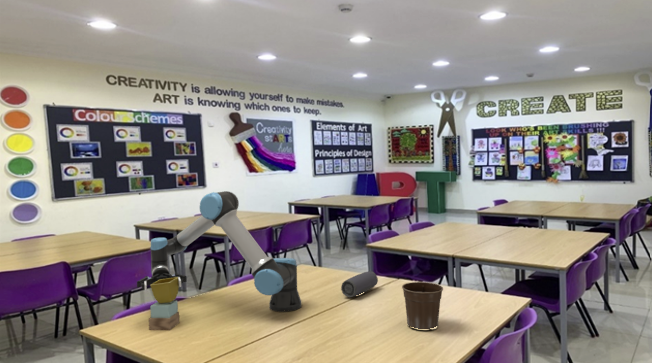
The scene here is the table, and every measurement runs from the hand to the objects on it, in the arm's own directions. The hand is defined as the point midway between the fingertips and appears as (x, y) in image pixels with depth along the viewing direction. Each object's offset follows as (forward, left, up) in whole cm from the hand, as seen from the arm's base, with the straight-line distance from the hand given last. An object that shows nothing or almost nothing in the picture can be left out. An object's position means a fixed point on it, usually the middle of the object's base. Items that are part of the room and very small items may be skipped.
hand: (163, 285), depth 186 cm
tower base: (+1, -2, -18) cm, 18 cm away
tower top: (+1, -2, -13) cm, 13 cm away
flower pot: (0, -3, -8) cm, 8 cm away
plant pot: (-107, -8, -18) cm, 109 cm away
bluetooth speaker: (-79, -53, -18) cm, 97 cm away
